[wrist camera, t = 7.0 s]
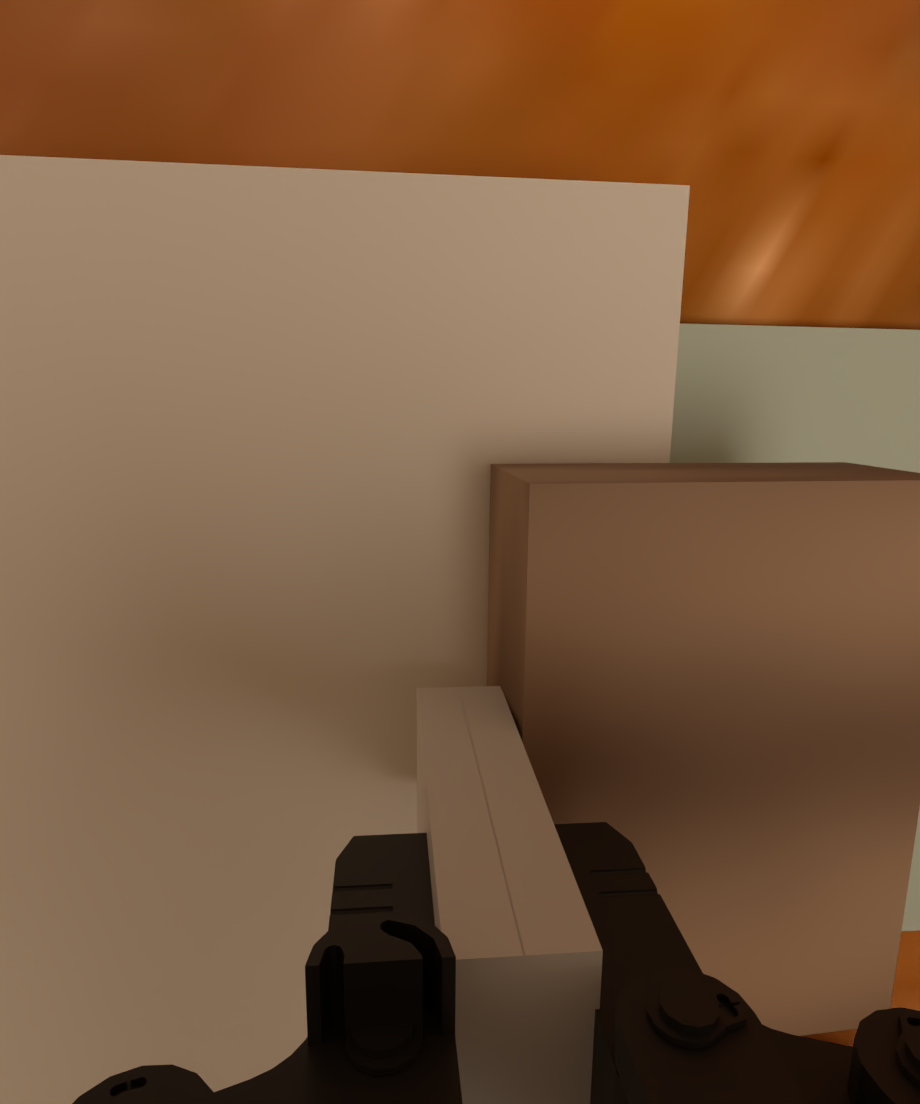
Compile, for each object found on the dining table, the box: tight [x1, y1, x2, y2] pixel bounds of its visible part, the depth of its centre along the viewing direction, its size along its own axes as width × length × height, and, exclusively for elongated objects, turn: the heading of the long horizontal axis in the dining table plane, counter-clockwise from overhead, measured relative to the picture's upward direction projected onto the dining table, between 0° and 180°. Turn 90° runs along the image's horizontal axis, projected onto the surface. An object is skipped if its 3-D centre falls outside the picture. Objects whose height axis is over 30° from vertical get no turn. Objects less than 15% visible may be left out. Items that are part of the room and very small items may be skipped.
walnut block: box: [487, 462, 920, 1036], centre depth 14 cm, size 10×7×3 cm
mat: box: [670, 324, 920, 931], centre depth 20 cm, size 16×16×1 cm
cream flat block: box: [0, 155, 690, 1104], centre depth 16 cm, size 20×18×4 cm
